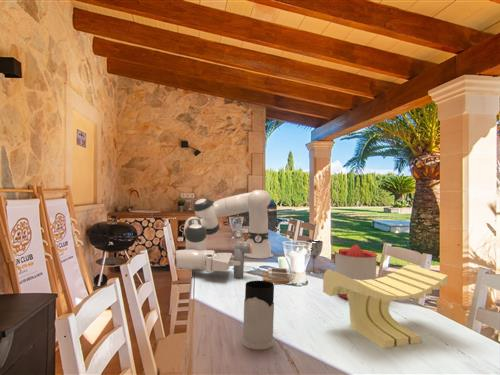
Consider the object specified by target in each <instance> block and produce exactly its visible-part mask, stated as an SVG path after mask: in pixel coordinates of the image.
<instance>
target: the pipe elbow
mask: <svg viewBox="0 0 500 375" xmlns="http://www.w3.org/2000/svg"><path fill="white" fill-rule="evenodd" d="M233 250H234V252H233V255H234V256H233V257H234V261H241V264H240V266H239V265H236V266H233V278H234V279H239V280H240V279H244V268H245V256H244V253H245V254H252V244H245V242H243V243H241V242H239V243H236V244H235V246H234V249H233Z"/></svg>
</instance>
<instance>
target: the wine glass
mask: <svg viewBox="0 0 500 375" xmlns="http://www.w3.org/2000/svg"><path fill="white" fill-rule="evenodd" d="M306 242H310V243H312V248H311V249H312V250H311V255H309V256H310V258H311V260H312V268H311V269H310V268H309V269H306V270H305V271H306V272H307V273H310V274H321V271H320V270H318V269H315V264H316V260H317V258H318V257H319V256H320V255H321V253H322V252H323V244H324V241H323V240H318V239H307V240H306Z"/></svg>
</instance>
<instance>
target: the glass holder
mask: <svg viewBox="0 0 500 375" xmlns="http://www.w3.org/2000/svg"><path fill="white" fill-rule="evenodd" d="M274 290H275V284H273V283H271V282H268V281H263V280H250V281H246V283H245V290H244V294H245V296H244V302H243V303H244V305H243V329H242V337H241V339H240V342H241V345H243V346H244V347H246V348H247V349H251V350H265V349H270V348H271V347H273V346H274V345H275V339H274V315H275V314H274V313H275V303H274V299H275V298H274V296H275V294H274V293H275V291H274Z"/></svg>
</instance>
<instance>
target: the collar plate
mask: <svg viewBox="0 0 500 375" xmlns="http://www.w3.org/2000/svg"><path fill="white" fill-rule="evenodd" d="M289 269H290V268H284V267H283V268H281V267H267V271H263V272H262V281H268V282H271V283H278V284H277V285H281V284H287V283H289V282H290V281H289V277H290V273H289Z"/></svg>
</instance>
